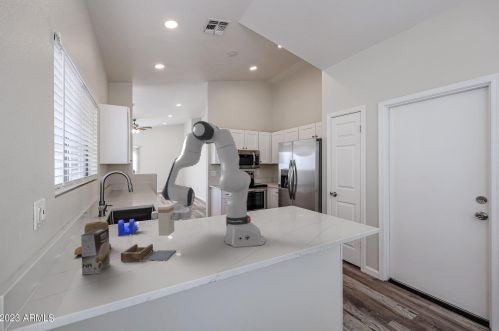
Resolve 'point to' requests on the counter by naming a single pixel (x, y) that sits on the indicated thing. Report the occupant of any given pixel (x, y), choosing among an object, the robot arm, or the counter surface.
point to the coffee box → (95, 251)
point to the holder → (132, 256)
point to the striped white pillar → (165, 219)
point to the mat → (162, 255)
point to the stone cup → (90, 227)
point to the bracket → (126, 227)
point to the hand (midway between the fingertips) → (165, 217)
